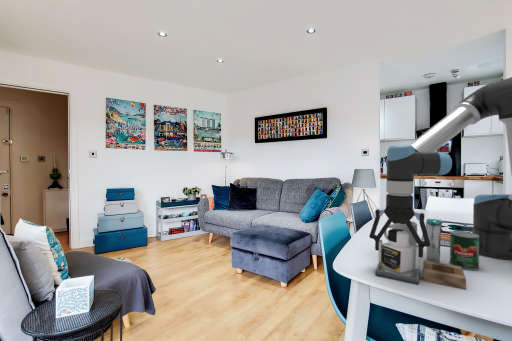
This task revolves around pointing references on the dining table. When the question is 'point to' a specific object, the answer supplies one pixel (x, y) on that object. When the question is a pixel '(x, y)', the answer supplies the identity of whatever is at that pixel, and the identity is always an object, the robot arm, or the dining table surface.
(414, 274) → the dock cradle
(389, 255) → the medicine bottle
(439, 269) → the frame
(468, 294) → the dining table surface
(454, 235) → the canned tomato
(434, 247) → the pin
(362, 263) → the dining table surface
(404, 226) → the mug
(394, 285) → the dining table surface
